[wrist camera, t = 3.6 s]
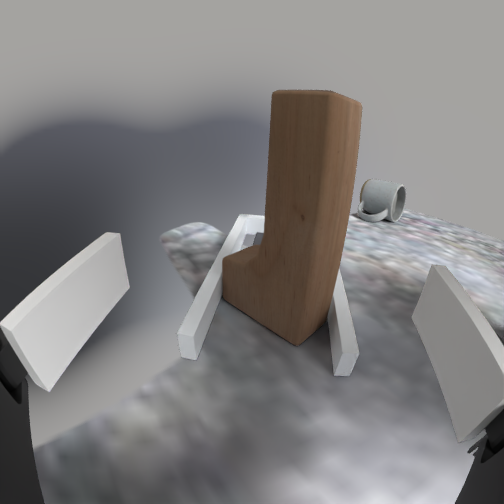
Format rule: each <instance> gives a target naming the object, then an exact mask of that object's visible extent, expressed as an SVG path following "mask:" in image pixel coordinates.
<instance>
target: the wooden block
mask: <svg viewBox="0 0 504 504" xmlns="http://www.w3.org/2000/svg"><path fill="white" fill-rule="evenodd" d="M271 103H272V104H271V121H270V138H269V156H268V173H267V189H266V205H265V221H264V235H263V238H262V241H261V244H260V245H257V244H256V245H253V246H251V247H248V248H245V249H243V250H240V251H238V252H235V253H233V254H230V255H228V256H225V257H224V258H223V260H222V288H223V298H224V299H225V300H226V301H228V302H229V303H230V304H232V305H233V306H235V307H236V308H238V309H239V310H241V311H242V312H244V313H245V314H247V315H248V316H250V317H251V318H253V319H254V320H256V321H257V322H259V323H260V324H262V325H263V326H265V327H267V328H268V329H270V330H271V331H273V332H274V333H276V334H277V335H279V336H281V337H282V338H284V339H285V340H287V341H288V342H290V343H292V344H293V345H296V346H298V345H300V344H301V343H302V342H304V341H305V340H306V339H307V338H308V337H309V336H311V335H312V334H313V333H314V332H315V331H316V330H317V329H318V328H320V327H321V326H322V325H323V324H324V323H325V322H326V320H327V316H328V312H329V308H330V305H331V301H332V297H333V292H334V288H335V284H336V280H337V275H338V271H339V266H340V261H341V257H342V252H343V247H344V241H345V236H346V231H347V225H348V219H349V213H350V208H351V201H352V195H353V188H354V180H355V174H356V166H357V157H358V149H359V139H360V129H361V117H362V105H361V103H360V102H358V101H356V100H353V99H351V98H348V97H346V96H343V95H341V94H338V93H335V92H333V91H327V90H325V91H324V90H277V91H275V92H273V94H272V101H271Z"/></svg>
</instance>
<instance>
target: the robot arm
mask: <svg viewBox="0 0 504 504" xmlns="http://www.w3.org/2000/svg"><path fill="white" fill-rule="evenodd" d="M129 288H130V286H129V281H128V276H127V271H126V266H125V260H124V255H123V249H122V243H121V237H120V233H109V232H106V233H105V234H103V235H102V236H101V237H99V238H98V239H97V240H95V241H94V242H93V243H91V244H90V245H89V246H88V247H86V248H85V249H83V250H82V251H81V252H80V253H78V254H77V255H76V256H75V257H73V258H72V259H71V260H69V261H68V262H67V263H66V264H64V265H63V266H62V267H61V268H60V269H58V270H57V271H56V272H55V273H54V274H52V275H51V276H50V277H49V278H48V279H46V280H45V281H44V282H43V283H42V284H41V285H39V286H38V287H37V288H36V289H34V290H33V291H32V292H31V293H30V294H29V295H28V296H27V297H26V298H24V299H23V300H22V302H20V304H18V305H17V306H16V307H15V308H14V309H13V310H12V311H11V312H10V313H9V314H8V315H7V316H6V317H5V318H4V319H3V320H2V321H1V322H0V504H45V503H44V500H43V496H42V492H41V488H40V484H39V480H38V475H37V470H36V465H35V460H34V454H33V447H32V439H31V431H30V419H29V402H28V383H27V380H26V379H25V376H26V375H27V374H29V375H30V377H31V378H32V379H33V381H34V382H35V384H36V385H38V386H40V387H41V388H43V389H45V390H46V391H48V392H50V391H51V389H52V388H53V386H54V384H55V383H56V382H57V381H58V379H59V377H60V376H61V375H62V373H63V372H64V370H65V369H66V368H67V366H68V365H69V363H70V362H71V361H72V360H73V358H74V357H75V356H76V354H77V353H78V352H79V350H80V349H81V348H82V346H83V345H84V344H85V342H86V341H87V340H88V338H89V337H90V336H91V335H92V333H93V332H94V331H95V329H96V328H97V327H98V326H99V324H100V323H101V322H102V321H103V319H104V318H105V317H106V316H107V314H108V313H109V312H110V311H111V309H112V308H113V307H114V306H115V305H116V303H117V302H118V301H119V300H120V299H121V297H122V296H123V295H124V294H125V293H126V291H127V290H128V289H129ZM411 318H412V320H413V322H414V324H415V326H416V329H417V331H418V333H419V335H420V337H421V340H422V342H423V344H424V347H425V349H426V351H427V354H428V356H429V359H430V361H431V364H432V366H433V369H434V371H435V374H436V376H437V379H438V382H439V384H440V387H441V390H442V393H443V396H444V398H445V401H446V404H447V407H448V411H449V414H450V417H451V420H452V423H453V427H454V430H455V434H456V437H457V441H458V443H460V442H464V441H467V440H470V439H473V438H475V437H476V436H477V435H478V434H479V433H480V432H481V431H482V430H483V429H485V430H486V433H487V434H486V435H485V436H484V437H483V438H481V439H480V440H479V441H478V442H477V443H476V444H474V445H473V446H472V447H471V448H470V449H469V451H468V452H467V453H469V454H470V453H471V452H472V451H473V450H475V449H476V448H477V447H479V448H478V450H477V451H476V452H475V453H474V454H473V456H475V459H474V462H473V464H472V467H471V469H470V472H469V474H468V476H467V479H466V481H465V483H464V485H463V488H462V490H461V492H460V494H459V496H458V498H457V500H456V502H455V504H504V336H503V338H502V339H501V338H500V337H499V336H498V335H497V334H496V333H495V331H494V330H493V328H492V327H491V325H490V324H489V322H488V321H487V320H486V318H485V317H484V315H483V314H482V312H481V311H480V310H479V308H478V307H477V305H476V304H475V303H474V301H473V300H472V299H471V297H470V296H469V295H468V293H467V292H466V291H465V290H464V288H463V287H462V286H461V284H460V283H459V282H458V281H457V279H456V278H455V277H454V276H453V275H452V273H451V272H450V271H449V270H448V268H447V267H446V266H441V265H431V268H430V271H429V274H428V277H427V280H426V282H425V285H424V288H423V290H422V293H421V295H420V298H419V300H418V303H417V305H416V308H415V310H414V312H413V315H412V317H411Z"/></svg>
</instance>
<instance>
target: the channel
mask: <svg viewBox="0 0 504 504" xmlns="http://www.w3.org/2000/svg"><path fill="white" fill-rule="evenodd" d="M264 221H265V216H258V215H246V214H240V215H239V217H238V219H237V220H236V222H235V224H234V226H233V228H232V230H231V231H230V233H229V235H228V237H227V239H226V241H225V242H224V244H223V246H222V248H221V250H220V252H219V253H218V255H217V257H216V259H215V261H214V263H213V265H212V267H211V268H210V270H209V272H208V274H207V276H206V278H205V280H204V282H203V284H202V285H201V287H200V289H199V291H198V293H197V295H196V297H195V299H194V301H193V303H192V305H191V307H190V309H189V311H188V312H187V315H186V316H185V318H184V320H183V322H182V324H181V326H180V328H179V330H178V332H177V337H178V343H179V348H180V354H181V357H182V358H187V359H192V360H197V358H198V355H199V353H200V350H201V347H202V345H203V342H204V340H205V337H206V335H207V332H208V329H209V327H210V324H211V322H212V319H213V317H214V314H215V311H216V309H217V306H218V304H219V301H220V299H221V296H222V294H223V288H222V260H223V258H224V257H225V256H228V255H230V254H233V253H235V252H238V251H240V248H241V246H242V243H243V241H244V238H245V236H246V234H254V235H256V237H255V240H254V243H253V245H256V244H257V245H260V244H261V241H262V238H263V235H264ZM327 317H328V326H329V334H330V343H331V352H332V362H333V373H334V376H350V374H351V372H352V370H353V367H354V365H355V363H356V361H357V358H358V356H359V349H358V344H357V339H356V335H355V330H354V326H353V321H352V317H351V313H350V309H349V304H348V300H347V296H346V292H345V288H344V285H343V281H342V277H341V273H340V270H339V271H338V275H337V280H336V284H335V288H334V292H333V297H332V301H331V305H330V308H329V312H328V316H327Z"/></svg>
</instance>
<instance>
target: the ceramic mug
mask: <svg viewBox="0 0 504 504" xmlns="http://www.w3.org/2000/svg"><path fill="white" fill-rule="evenodd" d="M405 201H406V189H405V187H404V185H402V184H398V183H393V182H387V181H383V180H378V179H369V180H367V181H366V182H365V183H364V185H363V187H362V189H361V193H360V204H359V206H358V215H359V216H360V218H361V219H363V220H365V221H368V222H377V221H380V220H382V219H386V220H389V221H391V222H397V221H398V220H399V219H400V217H401V215H402V213H403V210H404V207H405ZM362 209H364V210H365V211H367V212H369V213H371V214H374V215H367V214H364V213H362V212H361V210H362Z"/></svg>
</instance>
